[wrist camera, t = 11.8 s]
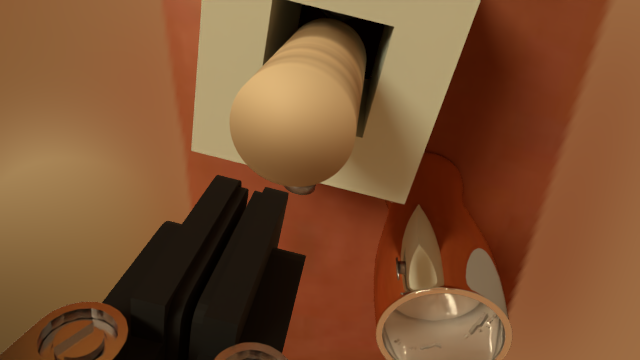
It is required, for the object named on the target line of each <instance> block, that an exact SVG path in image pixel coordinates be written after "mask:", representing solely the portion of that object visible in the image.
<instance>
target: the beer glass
mask: <svg viewBox="0 0 640 360" xmlns="http://www.w3.org/2000/svg"><path fill="white" fill-rule="evenodd" d="M385 202H386V205H387V207H388V215H387V219H386V222H385V225H384V228H383V231H382V234H381V238H380V241H379V245H378V249H377V254H376V258H375V267H374V308H375V320H376V341H377V344H378V347H379V349H380V351H381V353H382V354H383V356H384V357H385V358H386V359H387V360H503V359H504V358H505V356H506V355H507V353H508V351H509V349H510V346H511V343H512V328H511V324H510V322H509V318H508V313H507V307H506V301H505V296H504V292H503V287H502V283H501V279H500V276H499V272H498V268H497V265H496V263H495V260H494V257H493V255H492V252H491V250H490V247H489V246H488V244H487V242H486V240H485V238H484V236H483V234H482V233H481V231H480V229H479V228H478V226H477V225H476V223H475V222H474V220H473V219H472V217H471V216H470V214H469V213H468V211H467V210H466V208H465V206H464V204H463V180H462V177H461V174H460V172H459V170H458V169H457V167H456V166H455V165H454V164H453V163H452V162H451V161H449V160H448V159H446V158H445V157H443V156H440V155H437V154H434V153H424V154H423V156H422V159H421V162H420V164H419V167H418V170H417V172H416V175H415V178H414V180H413V183H412V186H411V188H410V191H409V194H408V196H407V199H406V202H405V204H401V203H397V202H393V201H389V200H385Z"/></svg>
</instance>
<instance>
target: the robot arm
mask: <svg viewBox="0 0 640 360" xmlns="http://www.w3.org/2000/svg"><path fill="white" fill-rule="evenodd" d="M247 199H248V189H246V188H242V187H241V181H240V180H236V179H232V178H228V177H224V176H220V175H217V176H216V177H215V178H214V179H213V181H212V182H211V184H210V185H209V187H208V188H207V189H206V191H205V192H204V194H203V195H202V197H201V198H200V199H199V201H198V202H197V204H196V205H195V207H194V208H193V209H192V211H191V212H190V214H189V215H188V217H187V218H186V219H185V221H184V222H183V224H179V223H175V222H171V221H166V222H165V223H164V224H163V225H162V226H161V227H160V228H159V229H158V231H157V232H156V233H155V235H154V236H153V237H152V238H151V240H150V241H149V242H148V244H147V245H146V246H145V248H144V249H143V250H142V251H141V253H140V254H139V256H138V257H137V258H136V259H135V261H134V262H133V263H132V265H131V266H130V267H129V269H128V270H127V271H126V272H125V274H124V275H123V276H122V277H121V279H120V280H119V282H118V283H117V284H116V285H115V287H114V288H113V289H112V290H111V292H110V293H109V294H108V296H107V297H106V299H105V300H104V301H103V302H102V303H99V302H79V303H74V304H69V305H66V306H63V307H61V308H58V309H56V310H54V311H52V312H50V313H49V314H47V315H46V316H45V317H43V318H42V319H40V320H39V321H38V322H37V323H36V324H35V325H33V326H32V327H31V328H30V329H29V330H28V331H27V332H25V333H24V334H23V335H22V336H21V337H20V338H18V339H17V340H16V341H15V342H14V343H13V344H12V345H10V346H9V347H8V348H7V349H6V350H5V351H4V352H2V353H1V354H0V360H288V359H287V358H286V357H285V356H284V355H283V354H282V351H283V347H284V343H285V339H286V335H287V331H288V327H289V323H290V319H291V314H292V310H293V306H294V302H295V298H296V294H297V290H298V286H299V282H300V278H301V274H302V270H303V266H304V262H305V258H306V256H305V255H301V254H298V253H294V252H290V251H286V250H282V249H278V248H277V247H278V243H279V238H280V233H281V228H282V224H283V219H284V214H285V209H286V205H287V200H288V193H287V192H283V191H279V190H276V189H272V188H268V187H265V189H264V190H263V192H258V191H254V193H253V195H252V197H251V199H250V201H249V203H248V205H247ZM246 205H247V207H246Z"/></svg>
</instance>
